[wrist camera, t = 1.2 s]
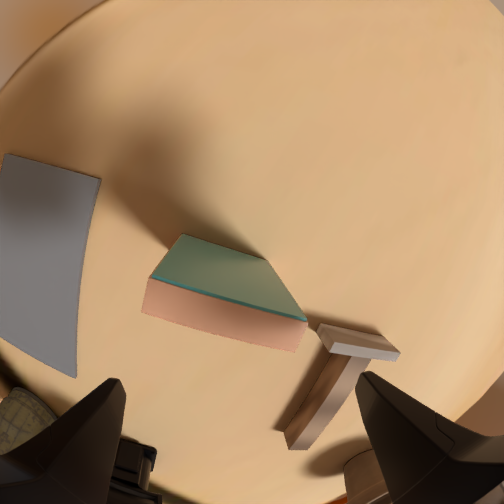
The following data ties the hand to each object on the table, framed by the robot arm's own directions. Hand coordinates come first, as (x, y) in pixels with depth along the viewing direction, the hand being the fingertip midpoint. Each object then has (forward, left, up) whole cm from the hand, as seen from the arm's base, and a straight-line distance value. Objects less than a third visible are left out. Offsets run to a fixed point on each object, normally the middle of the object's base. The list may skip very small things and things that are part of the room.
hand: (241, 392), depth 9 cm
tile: (+1, +1, -13) cm, 13 cm away
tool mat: (-6, +18, -13) cm, 23 cm away
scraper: (-10, -13, -13) cm, 21 cm away
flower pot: (-25, -30, -13) cm, 41 cm away
